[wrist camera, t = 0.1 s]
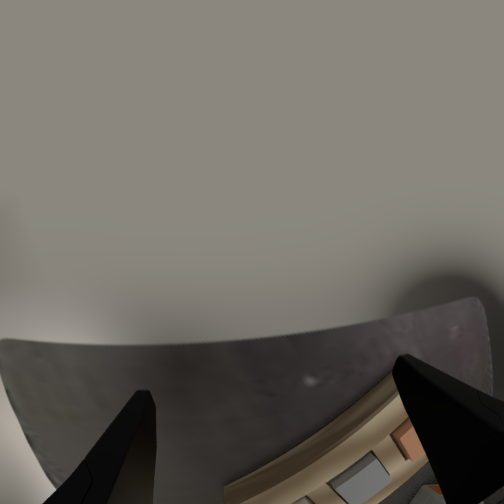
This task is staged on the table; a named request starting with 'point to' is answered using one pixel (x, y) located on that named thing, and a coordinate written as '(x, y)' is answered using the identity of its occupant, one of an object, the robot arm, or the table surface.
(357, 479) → the grey key
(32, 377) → the table surface
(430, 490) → the skincare box
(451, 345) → the table surface
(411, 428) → the terracotta key
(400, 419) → the wooden slotted tray
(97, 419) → the table surface
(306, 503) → the offwhite key
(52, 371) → the table surface
